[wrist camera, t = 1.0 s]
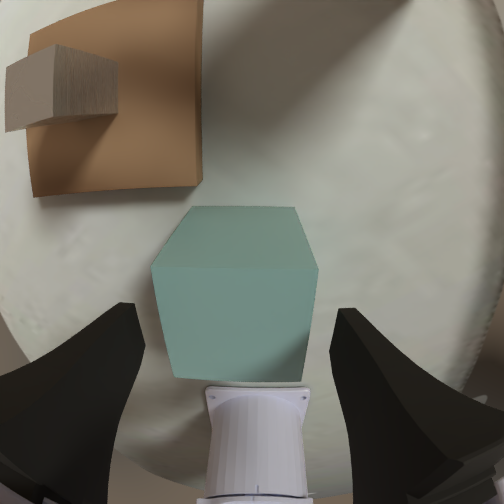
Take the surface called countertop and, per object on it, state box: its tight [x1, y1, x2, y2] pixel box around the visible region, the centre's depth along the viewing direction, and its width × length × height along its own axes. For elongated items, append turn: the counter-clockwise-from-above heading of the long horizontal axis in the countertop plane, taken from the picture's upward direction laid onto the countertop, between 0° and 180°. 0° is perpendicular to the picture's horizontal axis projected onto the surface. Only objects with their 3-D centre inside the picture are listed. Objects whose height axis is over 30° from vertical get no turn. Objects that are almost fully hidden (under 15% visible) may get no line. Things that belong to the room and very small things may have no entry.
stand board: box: [26, 0, 204, 198], centre depth 12 cm, size 10×10×2 cm
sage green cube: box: [150, 206, 319, 382], centre depth 13 cm, size 5×5×7 cm
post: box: [5, 44, 118, 133], centre depth 9 cm, size 3×3×5 cm
